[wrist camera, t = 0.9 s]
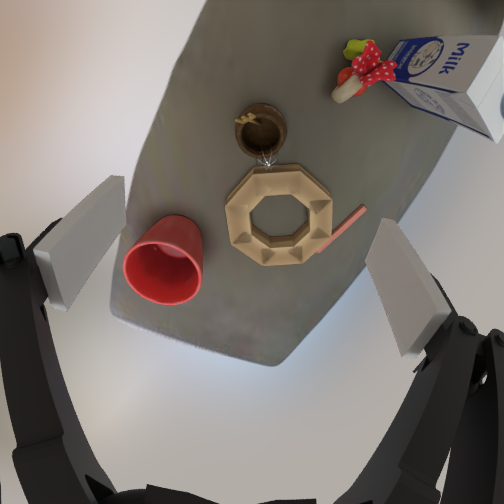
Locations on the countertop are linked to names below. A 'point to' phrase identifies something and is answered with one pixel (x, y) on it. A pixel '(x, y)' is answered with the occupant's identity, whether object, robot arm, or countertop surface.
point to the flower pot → (166, 262)
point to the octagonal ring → (279, 183)
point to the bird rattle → (362, 69)
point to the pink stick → (344, 225)
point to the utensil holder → (261, 131)
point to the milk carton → (454, 79)
